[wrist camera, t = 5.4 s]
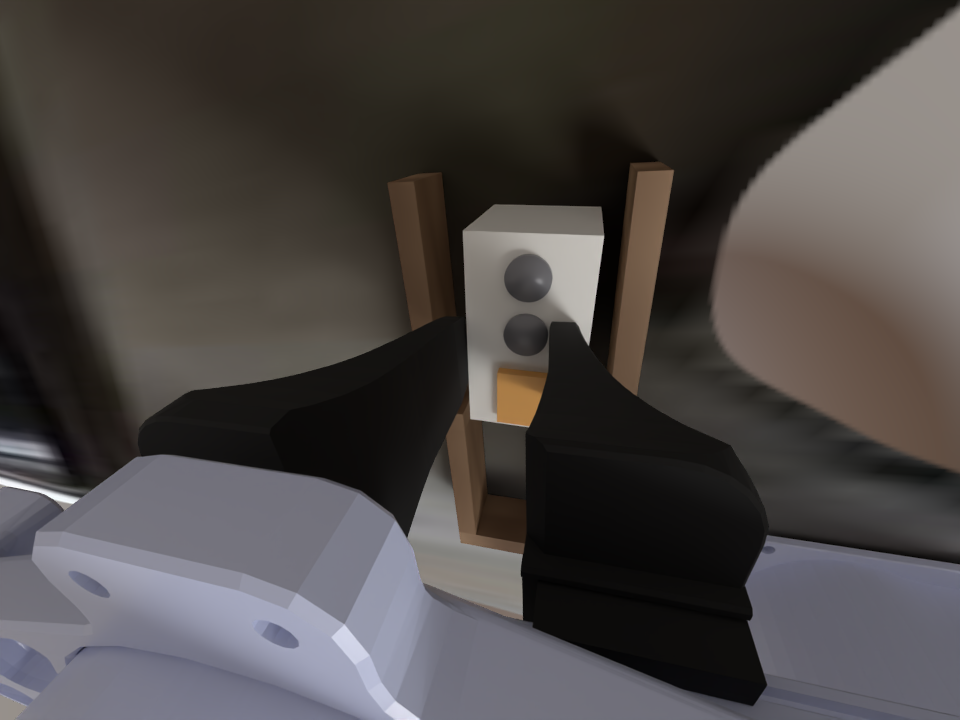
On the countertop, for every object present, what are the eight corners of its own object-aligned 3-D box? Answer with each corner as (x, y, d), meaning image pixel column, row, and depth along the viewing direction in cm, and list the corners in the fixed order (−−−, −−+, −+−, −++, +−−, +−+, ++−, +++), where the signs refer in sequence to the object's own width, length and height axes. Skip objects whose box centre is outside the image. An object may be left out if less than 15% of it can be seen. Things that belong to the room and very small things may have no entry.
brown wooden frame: (659, 161, 11) (674, 170, 9) (606, 523, 19) (607, 570, 17) (418, 173, 13) (387, 182, 11) (460, 500, 21) (446, 540, 19)
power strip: (601, 205, 12) (604, 238, 9) (580, 367, 16) (576, 440, 12) (495, 203, 13) (459, 233, 10) (495, 358, 16) (467, 425, 13)
